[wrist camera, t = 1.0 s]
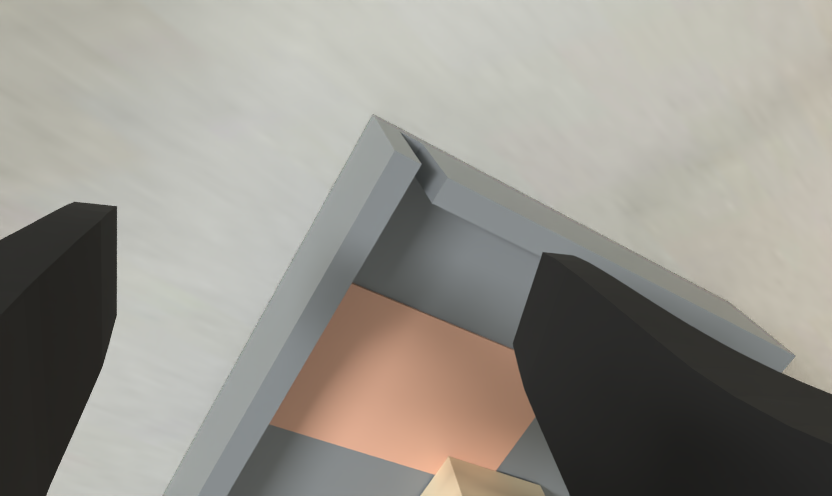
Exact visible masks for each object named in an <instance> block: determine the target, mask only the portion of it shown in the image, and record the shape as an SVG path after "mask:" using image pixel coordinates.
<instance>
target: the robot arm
mask: <svg viewBox="0 0 832 496" xmlns="http://www.w3.org/2000/svg"><path fill="white" fill-rule="evenodd" d="M116 316H117V206H108V205H99V204H90V203H80V202H73V203H71V204H68V205H66V206H64V207H62V208H60V209H58V210H56V211H54V212H52V213H50V214H48V215H47V216H45V217H43V218H41V219H39V220H37V221H35V222H34V223H32V224H30V225H28V226H26V227H24V228H22V229H20V230H19V231H17V232H15V233H13V234H11V235H9V236H7V237H5V238H3V239H1V240H0V496H46V495H47V492H48V489H49V487H50V484H51V482H52V480H53V478H54V475H55V473H56V471H57V469H58V466H59V464H60V462H61V460H62V457H63V455H64V453H65V451H66V448H67V446H68V444H69V442H70V439H71V437H72V435H73V433H74V430H75V428H76V426H77V424H78V422H79V419H80V417H81V415H82V413H83V410H84V408H85V406H86V403H87V401H88V399H89V397H90V394H91V392H92V390H93V387H94V385H95V383H96V381H97V378H98V376H99V374H100V371H101V369H102V366H103V363H104V359H105V356H106V353H107V349H108V346H109V342H110V338H111V334H112V331H113V327H114V323H115V319H116ZM513 347H514V352H515V356H516V360H517V364H518V369H519V372H520V376H521V379H522V383H523V387H524V390H525V392H526V395H527V397H528V400H529V402H530V405H531V407H532V409H533V412H534V414H535V417H536V419H537V421H538V424H539V426H540V428H541V431H542V433H543V435H544V437H545V440H546V442H547V444H548V447H549V449H550V451H551V453H552V456H553V458H554V460H555V463H556V465H557V467H558V469H559V472H560V474H561V476H562V479H563V481H564V483H565V485H566V488H567V490H568V492H569V495H570V496H832V394H830V393H827V392H825V391H822V390H820V389H817V388H815V387H812V386H810V385H808V384H805V383H803V382H800V381H798V380H796V379H794V378H791V377H789V376H787V375H785V374H782V373H780V372H778V371H776V370H774V369H772V368H770V367H768V366H766V365H764V364H762V363H760V362H758V361H756V360H754V359H752V358H749V357H747V356H745V355H743V354H741V353H739V352H737V351H736V350H734V349H732V348H730V347H728V346H726V345H724V344H722V343H721V342H719V341H717V340H715V339H714V338H712V337H710V336H708V335H707V334H705V333H703V332H701V331H700V330H698V329H696V328H694V327H693V326H691V325H689V324H688V323H686V322H684V321H683V320H681V319H679V318H678V317H676V316H674V315H673V314H671V313H670V312H668V311H666V310H665V309H663V308H662V307H660V306H658V305H657V304H655V303H654V302H652V301H650V300H649V299H647V298H646V297H644V296H643V295H641V294H639V293H638V292H636V291H635V290H633V289H632V288H630V287H629V286H627V285H625V284H624V283H622V282H621V281H619V280H617V279H616V278H614V277H613V276H611V275H609V274H608V273H606V272H605V271H603V270H601V269H599V268H598V267H596V266H594V265H593V264H591V263H589V262H587V261H585V260H583V259H581V258H579V257H576V256H574V255H566V254H557V253H547V252H543V253H542V256H541V259H540V262H539V265H538V268H537V271H536V274H535V277H534V280H533V283H532V286H531V289H530V292H529V295H528V298H527V301H526V304H525V307H524V310H523V313H522V316H521V319H520V323H519V326H518V329H517V332H516V335H515V338H514V341H513Z"/></svg>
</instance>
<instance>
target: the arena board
mask: <svg viewBox="0 0 832 496" xmlns="http://www.w3.org/2000/svg"><path fill="white" fill-rule="evenodd" d="M543 252H547V253H557V254H566V255H574V256H576V257H579V258H581V259H583V260H585V261H587V262H589V263H591V264H593V265H594V266H596V267H598V268H599V269H601V270H603V271H605V272H606V273H608V274H609V275H611V276H613V277H614V278H616V279H617V280H619V281H621V282H622V283H624V284H625V285H627V286H629V287H630V288H632V289H633V290H635V291H636V292H638V293H639V294H641V295H643V296H644V297H646V298H647V299H649V300H650V301H652V302H654V303H655V304H657V305H658V306H660V307H662V308H663V309H665V310H666V311H668V312H670V313H671V314H673V315H674V316H676V317H678V318H679V319H681V320H683V321H684V322H686V323H688V324H689V325H691V326H693V327H694V328H696V329H698V330H700V331H701V332H703V333H705V334H707V335H708V336H710V337H712V338H714V339H715V340H717V341H719V342H721V343H722V344H724V345H726V346H728V347H730V348H732V349H734V350H736V351H737V352H739V353H741V354H743V355H745V356H747V357H749V358H752V359H754V360H756V361H758V362H760V363H762V364H764V365H766V366H768V367H770V368H772V369H774V370H776V371H778V372H780V373H781V372H782V371H783V370H784V369H785V368H786V367H787V365H788V364H789V363H790V362H791V361H792V359H793V358H794V357H795V355H794V354H793V353H792V352H790V351H789V350H788V349H787V348H785V347H784V346H783V345H782V344H780V343H779V342H778V341H777V340H776V339H774V338H773V337H772V336H771V335H769V334H768V333H767V332H766V331H764V330H763V329H762V328H761V327H759V326H758V325H757V324H756V323H755V322H753V321H752V320H751V319H750V318H748V317H747V316H746V315H745V314H743V313H742V312H741V311H740V310H738V309H737V308H736V307H735V306H734V305H732V304H731V303H729V302H728V301H726V300H724V299H722V298H720V297H718V296H716V295H714V294H712V293H711V292H709V291H707V290H705V289H703V288H701V287H699V286H697V285H695V284H694V283H692V282H690V281H688V280H686V279H684V278H682V277H680V276H678V275H677V274H675V273H673V272H671V271H669V270H667V269H665V268H663V267H661V266H659V265H658V264H656V263H654V262H652V261H650V260H648V259H646V258H644V257H642V256H641V255H639V254H637V253H635V252H633V251H631V250H629V249H627V248H625V247H624V246H622V245H620V244H618V243H616V242H614V241H612V240H610V239H608V238H607V237H605V236H603V235H601V234H599V233H597V232H595V231H593V230H591V229H590V228H588V227H586V226H584V225H582V224H580V223H578V222H576V221H574V220H572V219H571V218H569V217H567V216H565V215H563V214H561V213H559V212H557V211H555V210H554V209H552V208H550V207H548V206H546V205H544V204H542V203H540V202H538V201H537V200H535V199H533V198H531V197H529V196H527V195H525V194H523V193H521V192H520V191H518V190H516V189H514V188H512V187H510V186H508V185H506V184H504V183H503V182H501V181H499V180H497V179H495V178H493V177H491V176H489V175H487V174H486V173H484V172H482V171H480V170H478V169H476V168H474V167H472V166H470V165H468V164H467V163H465V162H463V161H461V160H459V159H457V158H455V157H453V156H451V155H450V154H448V153H446V152H444V151H442V150H440V149H438V148H436V147H434V146H433V145H431V144H429V143H427V142H425V141H423V140H421V139H419V138H417V137H416V136H414V135H412V134H410V133H408V132H406V131H404V130H402V129H400V128H399V127H397V126H395V125H393V124H391V123H389V122H387V121H385V120H383V119H381V118H380V117H378V116H376V115H374V114H373V115H372V117H371V119H370V120H369V122H368V124H367V126H366V128H365V129H364V131H363V133H362V135H361V137H360V139H359V140H358V142H357V144H356V146H355V148H354V149H353V151H352V153H351V155H350V157H349V159H348V160H347V162H346V164H345V166H344V168H343V169H342V171H341V173H340V175H339V177H338V179H337V180H336V182H335V184H334V186H333V188H332V189H331V191H330V193H329V195H328V197H327V198H326V200H325V202H324V204H323V206H322V208H321V209H320V211H319V213H318V215H317V217H316V218H315V220H314V222H313V224H312V226H311V228H310V229H309V231H308V233H307V235H306V237H305V238H304V240H303V242H302V244H301V246H300V247H299V249H298V251H297V253H296V255H295V257H294V258H293V260H292V262H291V264H290V266H289V267H288V269H287V271H286V273H285V275H284V277H283V278H282V280H281V282H280V284H279V286H278V287H277V289H276V291H275V293H274V295H273V296H272V298H271V300H270V302H269V304H268V306H267V307H266V309H265V311H264V313H263V315H262V316H261V318H260V320H259V322H258V324H257V326H256V327H255V329H254V331H253V333H252V335H251V336H250V338H249V340H248V342H247V344H246V345H245V347H244V349H243V351H242V353H241V355H240V356H239V358H238V360H237V362H236V364H235V365H234V367H233V369H232V371H231V373H230V375H229V376H228V378H227V380H226V382H225V384H224V385H223V387H222V389H221V391H220V393H219V394H218V396H217V398H216V400H215V402H214V404H213V405H212V407H211V409H210V411H209V413H208V414H207V416H206V418H205V420H204V422H203V424H202V425H201V427H200V429H199V431H198V433H197V434H196V436H195V438H194V440H193V442H192V443H191V445H190V447H189V449H188V451H187V453H186V454H185V456H184V458H183V460H182V462H181V463H180V465H179V467H178V469H177V471H176V473H175V474H174V476H173V478H172V480H171V482H170V483H169V485H168V487H167V489H166V491H165V493H164V494H163V496H420V495H421V494H422V493H423V491H424V490H425V488H426V487H427V486H428V484H429V483H430V481H431V480H432V479H433V477H434V476H435V474H436V473H437V472H438V470H439V469H440V467H441V466H442V465H443V463H444V462H445V460H446V459H447V458H448V456H450V457H453V458H456V459H459V460H462V461H466V462H469V463H472V464H475V465H478V466H481V467H484V468H487V469H490V470H494V471H497V472H500V473H503V474H506V475H509V476H512V477H515V478H518V479H522V480H525V481H528V482H531V483H534V484H537V485H540V486H541V488H542V490H543V492H544V494H545V496H570V495H569V492H568V490H567V488H566V485H565V483H564V481H563V479H562V476H561V474H560V472H559V469H558V467H557V465H556V463H555V460H554V458H553V456H552V453H551V451H550V449H549V447H548V444H547V442H546V440H545V437H544V435H543V433H542V431H541V428H540V426H539V424H538V421H537V419H536V417H535V414H534V412H533V409H532V407H531V405H530V402H529V400H528V397H527V395H526V392H525V390H524V387H523V383H522V379H521V376H520V372H519V369H518V364H517V360H516V356H515V352H514V347H513V341H514V338H515V335H516V332H517V329H518V326H519V323H520V319H521V316H522V313H523V310H524V307H525V304H526V301H527V298H528V295H529V292H530V289H531V286H532V283H533V280H534V277H535V274H536V271H537V268H538V265H539V262H540V259H541V256H542V253H543Z"/></svg>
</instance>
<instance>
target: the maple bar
mask: <svg viewBox="0 0 832 496" xmlns="http://www.w3.org/2000/svg"><path fill="white" fill-rule="evenodd" d="M420 496H545V494H544V492H543V490H542V488H541V486H540V485H537V484H534V483H531V482H528V481H525V480H522V479H518V478H515V477H512V476H509V475H506V474H503V473H500V472H497V471H494V470H490V469H487V468H484V467H481V466H478V465H475V464H472V463H469V462H466V461H462V460H459V459H456V458H453V457H450V456H448V458H447V459H446V460H445V462H444V463H443V465H442V466H441V467H440V469H439V470H438V472H437V473H436V474H435V476H434V477H433V479H432V480H431V481H430V483H429V484H428V486H427V487H426V488H425V490H424V491H423V493H422V494H421V495H420Z"/></svg>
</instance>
